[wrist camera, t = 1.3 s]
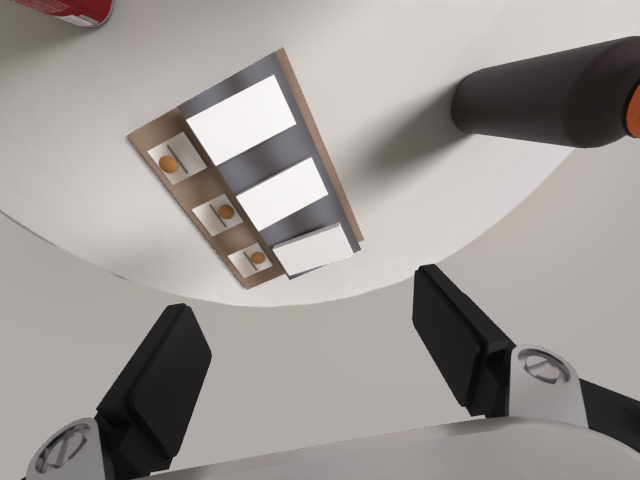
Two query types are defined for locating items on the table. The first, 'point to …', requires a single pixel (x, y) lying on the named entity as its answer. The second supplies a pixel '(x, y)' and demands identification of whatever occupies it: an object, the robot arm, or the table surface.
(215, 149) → the rocker near
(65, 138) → the table surface
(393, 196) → the table surface
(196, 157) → the rocker switch unit
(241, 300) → the table surface
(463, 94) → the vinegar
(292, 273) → the rocker far
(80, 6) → the soda can
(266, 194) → the rocker middle
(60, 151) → the table surface
